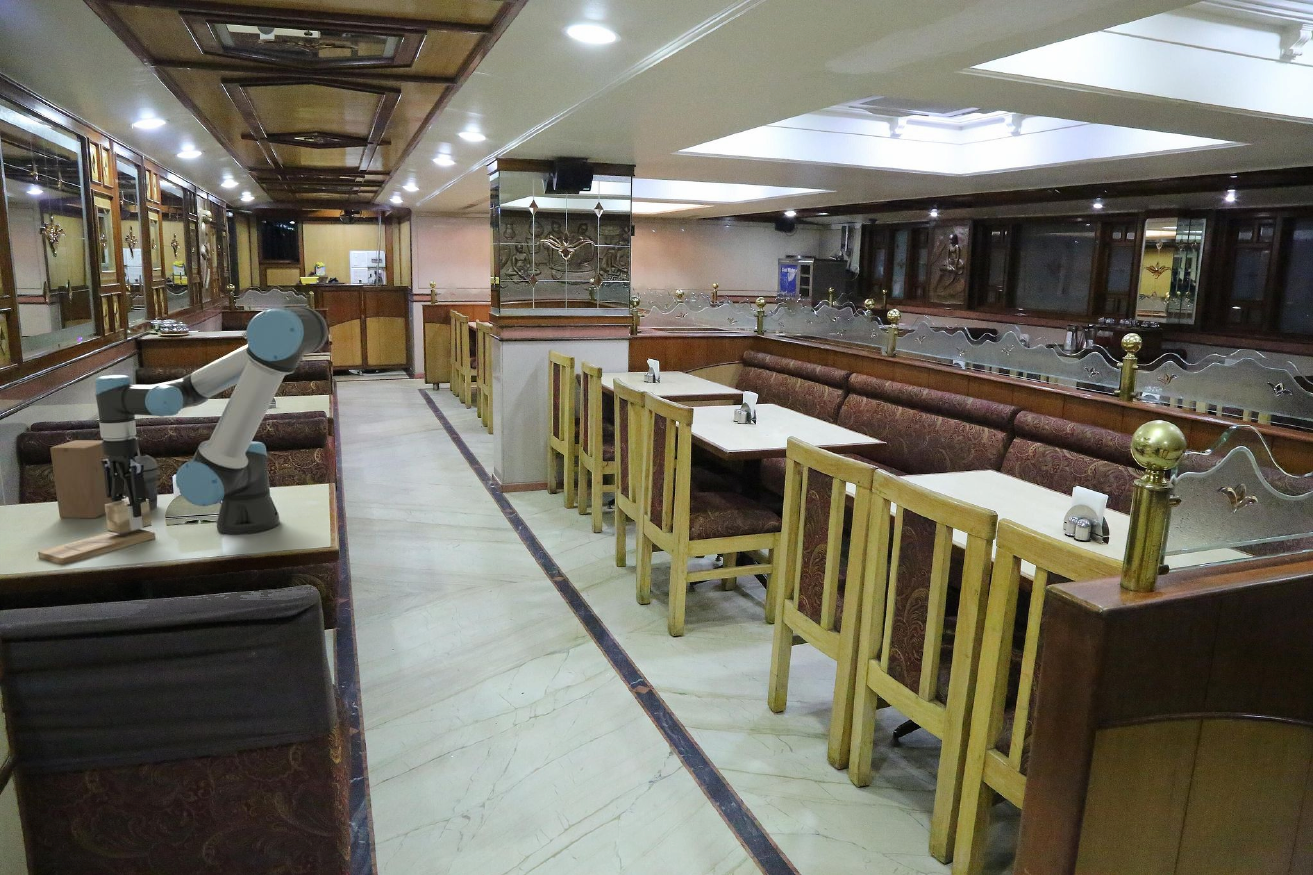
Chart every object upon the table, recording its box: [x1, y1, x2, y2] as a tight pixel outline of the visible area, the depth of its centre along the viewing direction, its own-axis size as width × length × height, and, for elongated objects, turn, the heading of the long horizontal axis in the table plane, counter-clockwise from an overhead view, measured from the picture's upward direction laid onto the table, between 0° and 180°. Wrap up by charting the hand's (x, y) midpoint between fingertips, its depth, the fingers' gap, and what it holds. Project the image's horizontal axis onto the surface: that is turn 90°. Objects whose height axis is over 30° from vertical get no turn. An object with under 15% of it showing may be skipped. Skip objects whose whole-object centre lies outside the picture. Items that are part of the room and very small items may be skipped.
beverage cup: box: [129, 447, 159, 511], centre depth 238 cm, size 7×7×20 cm
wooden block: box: [49, 439, 113, 519], centre depth 232 cm, size 10×10×20 cm
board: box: [37, 528, 156, 565], centre depth 206 cm, size 10×22×2 cm, turn 153°
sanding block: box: [105, 498, 153, 534], centre depth 212 cm, size 5×8×7 cm, turn 153°
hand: (129, 527), depth 213 cm, fingers closed on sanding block, 5 cm apart
